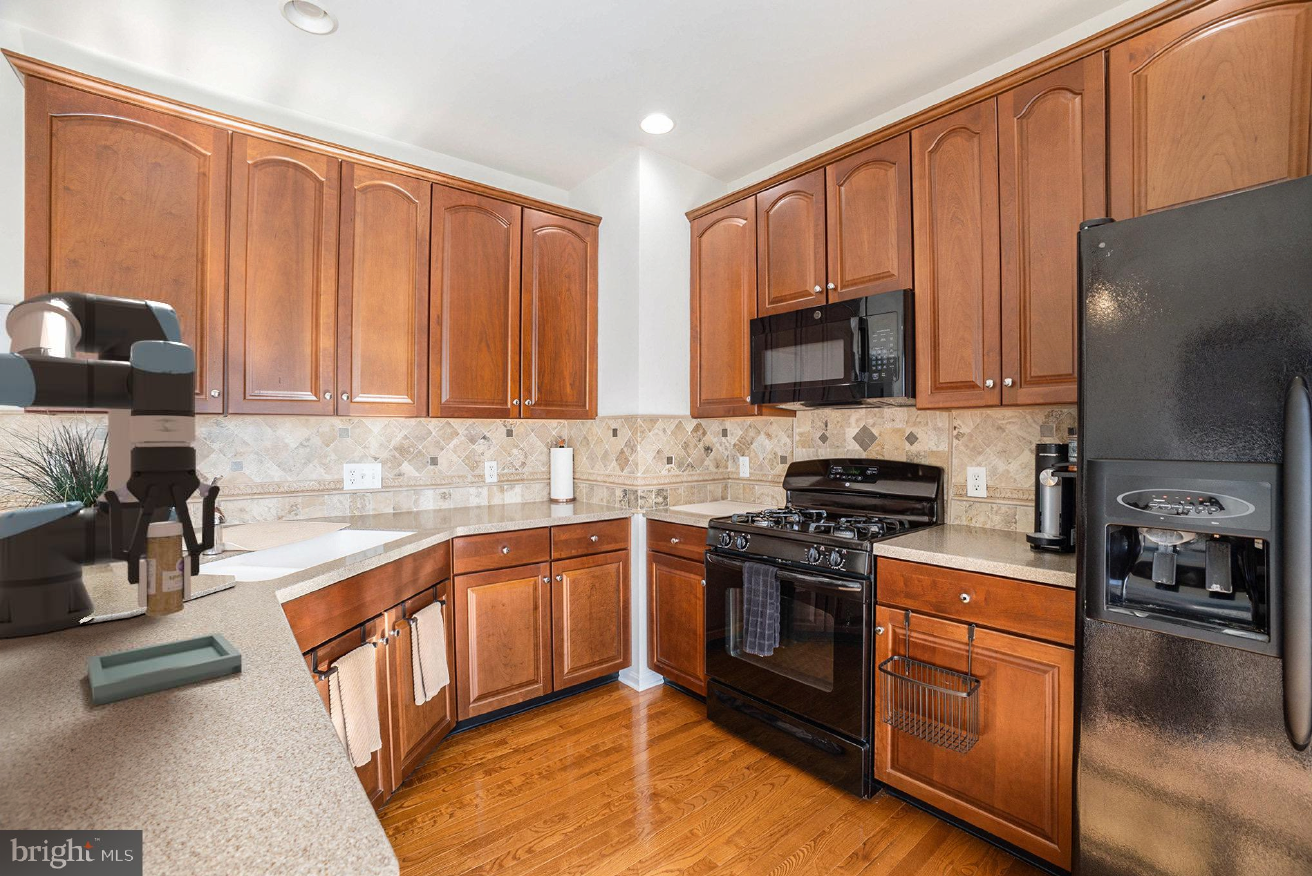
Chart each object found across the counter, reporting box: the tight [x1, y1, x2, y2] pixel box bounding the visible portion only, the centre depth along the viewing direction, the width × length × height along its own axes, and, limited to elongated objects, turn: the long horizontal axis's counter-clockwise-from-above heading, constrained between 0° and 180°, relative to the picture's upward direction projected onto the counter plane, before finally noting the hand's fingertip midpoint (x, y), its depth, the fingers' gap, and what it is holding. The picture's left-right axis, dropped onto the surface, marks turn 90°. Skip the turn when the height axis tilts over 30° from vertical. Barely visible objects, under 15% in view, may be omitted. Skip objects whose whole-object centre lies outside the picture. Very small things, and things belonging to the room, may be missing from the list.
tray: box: [87, 632, 243, 707], centre depth 88 cm, size 16×16×2 cm
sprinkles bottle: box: [144, 521, 185, 617], centre depth 88 cm, size 5×5×14 cm
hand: (164, 601), depth 88 cm, fingers closed on sprinkles bottle, 4 cm apart
